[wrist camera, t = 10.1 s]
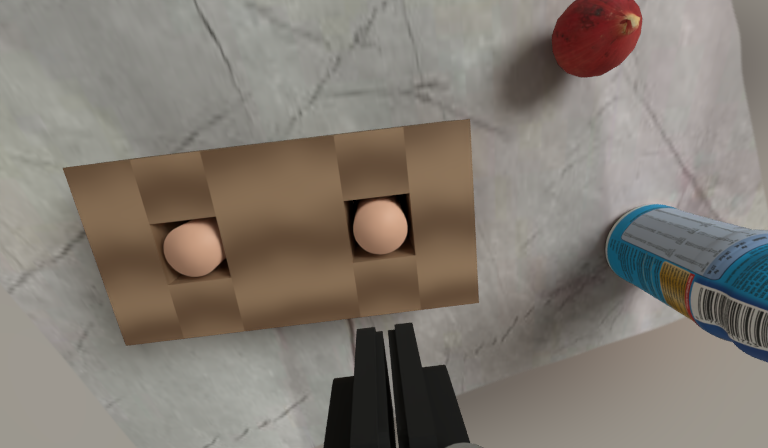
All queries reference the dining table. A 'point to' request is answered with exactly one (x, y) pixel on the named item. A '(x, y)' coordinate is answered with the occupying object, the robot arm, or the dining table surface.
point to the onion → (596, 35)
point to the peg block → (283, 230)
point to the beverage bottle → (698, 270)
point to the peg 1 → (195, 247)
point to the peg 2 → (380, 224)
